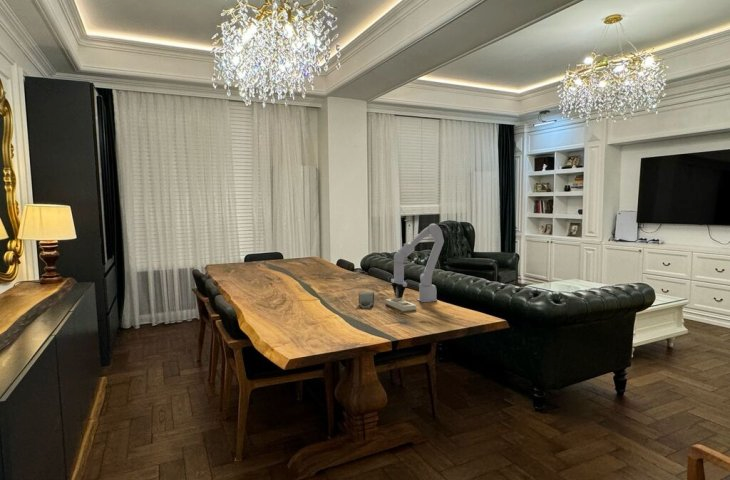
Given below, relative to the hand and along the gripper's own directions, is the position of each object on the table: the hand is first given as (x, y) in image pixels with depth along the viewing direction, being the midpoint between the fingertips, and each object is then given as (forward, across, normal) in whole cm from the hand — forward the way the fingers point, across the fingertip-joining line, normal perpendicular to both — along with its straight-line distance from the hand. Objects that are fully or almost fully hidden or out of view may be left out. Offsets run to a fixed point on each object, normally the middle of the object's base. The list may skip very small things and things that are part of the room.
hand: (398, 296), depth 243 cm
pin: (+2, 0, 0) cm, 2 cm away
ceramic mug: (+2, +4, -22) cm, 23 cm away
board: (+2, +15, -8) cm, 17 cm away
